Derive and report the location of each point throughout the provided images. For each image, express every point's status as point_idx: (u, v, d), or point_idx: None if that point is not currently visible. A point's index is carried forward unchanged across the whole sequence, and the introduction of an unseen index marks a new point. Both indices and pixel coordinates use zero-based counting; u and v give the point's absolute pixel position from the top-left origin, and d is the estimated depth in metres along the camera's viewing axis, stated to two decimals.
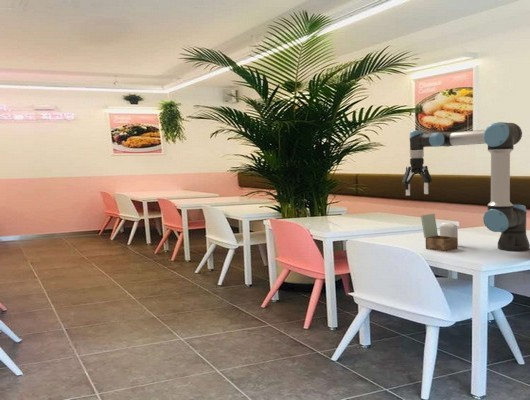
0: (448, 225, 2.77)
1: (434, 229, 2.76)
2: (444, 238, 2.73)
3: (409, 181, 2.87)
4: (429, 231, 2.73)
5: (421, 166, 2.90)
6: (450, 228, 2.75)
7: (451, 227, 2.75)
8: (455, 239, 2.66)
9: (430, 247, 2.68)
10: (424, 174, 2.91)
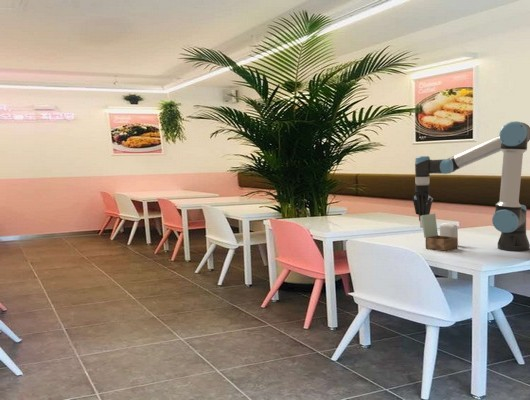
0: (448, 225, 2.77)
1: (434, 229, 2.76)
2: (444, 238, 2.73)
3: (419, 212, 2.77)
4: (429, 231, 2.73)
5: (425, 193, 2.73)
6: (451, 228, 2.75)
7: (451, 227, 2.75)
8: (455, 239, 2.66)
9: (430, 247, 2.68)
10: (423, 205, 2.75)
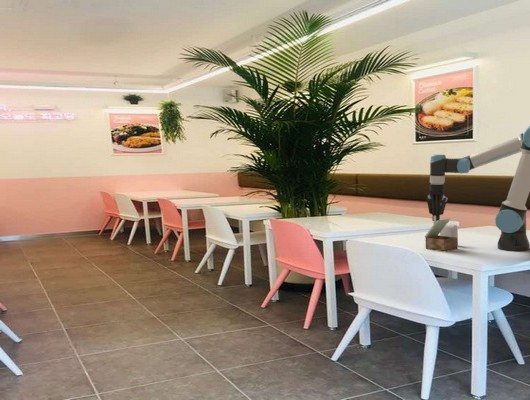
0: (448, 225, 2.77)
1: (439, 231, 2.74)
2: (444, 238, 2.73)
3: (433, 211, 2.70)
4: (433, 233, 2.71)
5: (440, 193, 2.66)
6: (451, 228, 2.75)
7: (451, 227, 2.75)
8: (455, 239, 2.66)
9: (430, 247, 2.68)
10: (437, 204, 2.68)
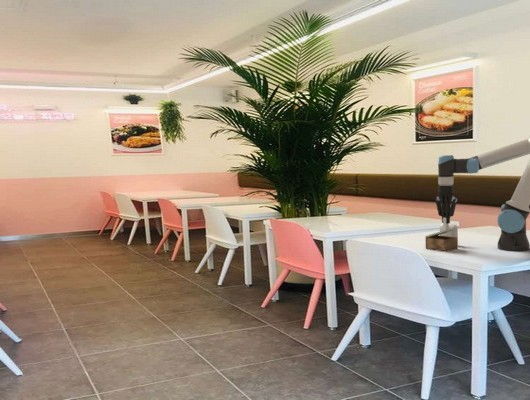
0: None
1: (440, 234, 2.73)
2: (444, 238, 2.73)
3: (442, 213, 2.66)
4: (434, 235, 2.71)
5: (449, 194, 2.62)
6: (451, 228, 2.75)
7: (451, 227, 2.75)
8: (455, 239, 2.66)
9: (430, 247, 2.68)
10: (447, 206, 2.63)
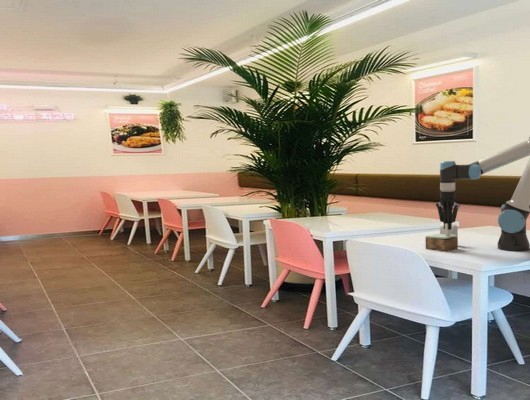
0: None
1: None
2: None
3: (444, 219, 2.65)
4: None
5: (451, 200, 2.61)
6: None
7: None
8: (455, 239, 2.66)
9: (430, 247, 2.68)
10: (448, 212, 2.63)
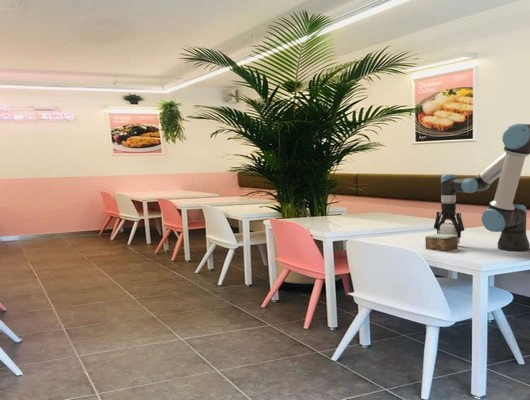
0: (448, 225, 2.77)
1: None
2: None
3: (438, 227, 2.83)
4: None
5: (451, 212, 2.76)
6: (451, 228, 2.75)
7: (451, 227, 2.75)
8: (455, 239, 2.66)
9: (430, 247, 2.68)
10: (453, 221, 2.75)
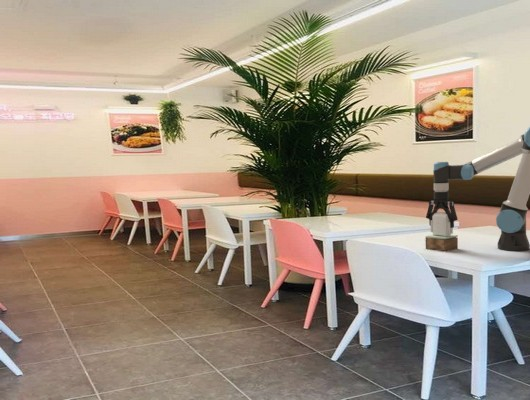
0: (441, 214, 2.66)
1: None
2: None
3: (431, 217, 2.72)
4: None
5: (444, 200, 2.65)
6: (443, 217, 2.64)
7: (444, 216, 2.64)
8: (455, 239, 2.66)
9: (430, 247, 2.68)
10: (446, 211, 2.64)
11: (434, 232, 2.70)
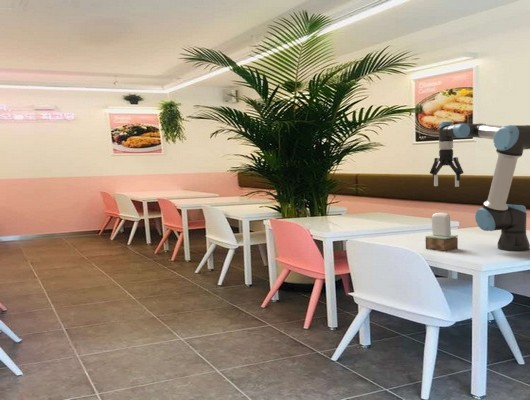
0: (440, 215, 2.66)
1: None
2: None
3: (434, 172, 2.94)
4: None
5: (448, 158, 2.86)
6: (443, 217, 2.64)
7: (443, 217, 2.64)
8: (455, 239, 2.66)
9: (430, 247, 2.68)
10: (452, 166, 2.85)
11: (434, 233, 2.70)
